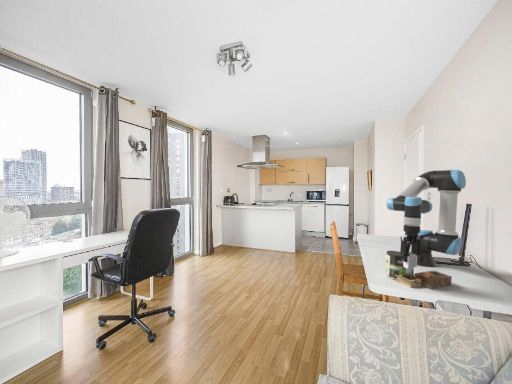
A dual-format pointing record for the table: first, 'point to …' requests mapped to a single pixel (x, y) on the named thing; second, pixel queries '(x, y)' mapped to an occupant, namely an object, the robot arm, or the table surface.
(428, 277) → the button
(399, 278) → the open wooden tray
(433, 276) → the socket block
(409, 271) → the peg
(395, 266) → the coffee can
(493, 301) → the table surface
